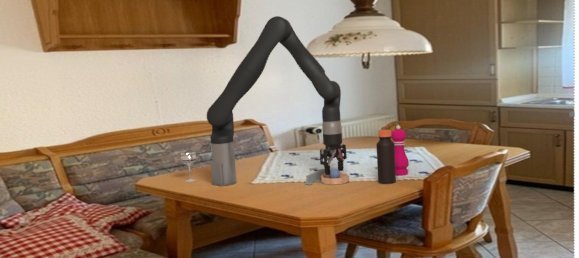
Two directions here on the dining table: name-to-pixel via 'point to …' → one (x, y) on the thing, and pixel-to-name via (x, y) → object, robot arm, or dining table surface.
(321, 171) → the fence
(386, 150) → the bottle
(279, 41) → the robot arm
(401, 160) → the pepper mill
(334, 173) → the ball
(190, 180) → the wineglass
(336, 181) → the bowl
